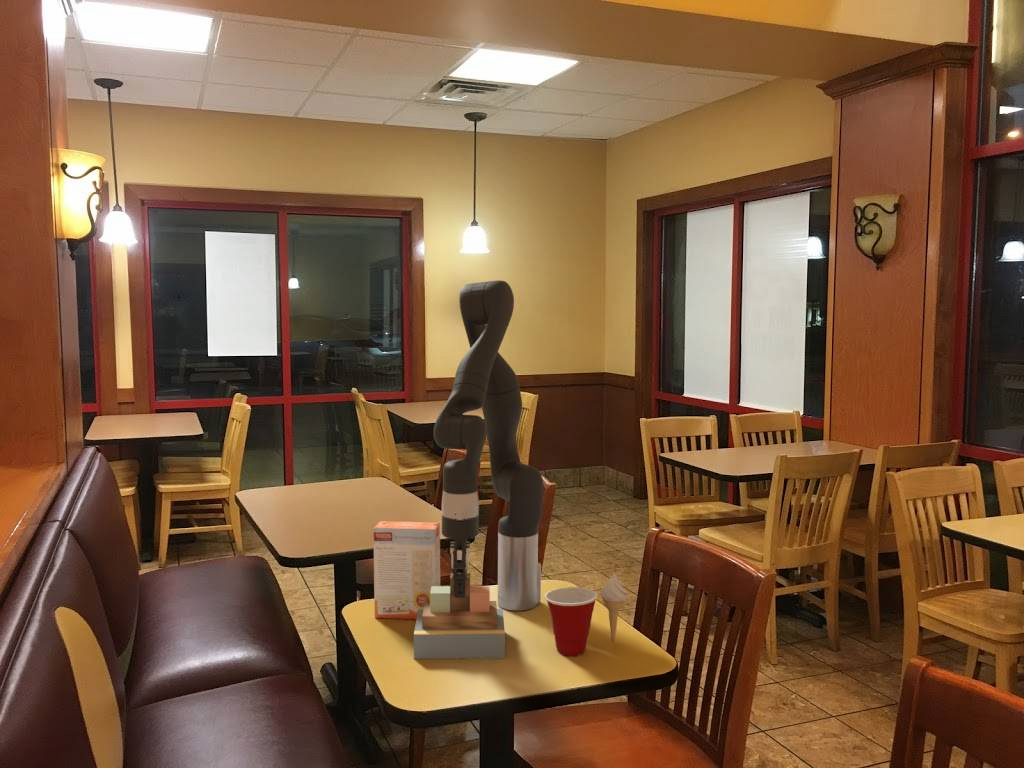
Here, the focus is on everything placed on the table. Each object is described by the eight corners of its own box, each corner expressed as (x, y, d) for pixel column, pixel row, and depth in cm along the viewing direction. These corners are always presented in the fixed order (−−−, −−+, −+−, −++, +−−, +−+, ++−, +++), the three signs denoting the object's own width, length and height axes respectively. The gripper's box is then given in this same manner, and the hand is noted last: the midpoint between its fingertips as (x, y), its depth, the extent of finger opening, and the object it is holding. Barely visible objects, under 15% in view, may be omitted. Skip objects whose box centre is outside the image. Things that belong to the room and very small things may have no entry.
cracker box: (441, 611, 190) (441, 521, 187) (436, 621, 184) (435, 529, 181) (380, 608, 191) (379, 519, 189) (373, 618, 185) (372, 526, 183)
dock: (502, 631, 179) (502, 608, 178) (504, 658, 166) (504, 633, 166) (418, 631, 178) (418, 609, 178) (413, 658, 165) (413, 634, 165)
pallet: (496, 613, 176) (496, 568, 175) (497, 628, 168) (497, 582, 167) (424, 613, 175) (424, 569, 174) (422, 629, 167) (422, 582, 166)
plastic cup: (567, 634, 178) (568, 579, 176) (607, 650, 170) (609, 593, 169) (532, 649, 170) (533, 592, 169) (572, 666, 163) (573, 607, 161)
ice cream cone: (607, 648, 171) (609, 578, 169) (594, 638, 176) (596, 569, 174) (631, 644, 173) (633, 574, 171) (617, 633, 178) (619, 566, 176)
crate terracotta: (489, 604, 174) (489, 586, 173) (489, 612, 170) (489, 593, 169) (470, 604, 173) (470, 586, 173) (469, 612, 169) (469, 593, 169)
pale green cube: (450, 604, 173) (450, 586, 173) (450, 612, 169) (450, 593, 169) (431, 604, 173) (431, 586, 173) (430, 612, 169) (430, 593, 169)
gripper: (443, 503, 176) (443, 577, 178) (440, 522, 162) (440, 602, 164) (478, 503, 176) (478, 577, 178) (478, 522, 162) (478, 602, 164)
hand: (460, 589), depth 171 cm, fingers open, 8 cm apart
